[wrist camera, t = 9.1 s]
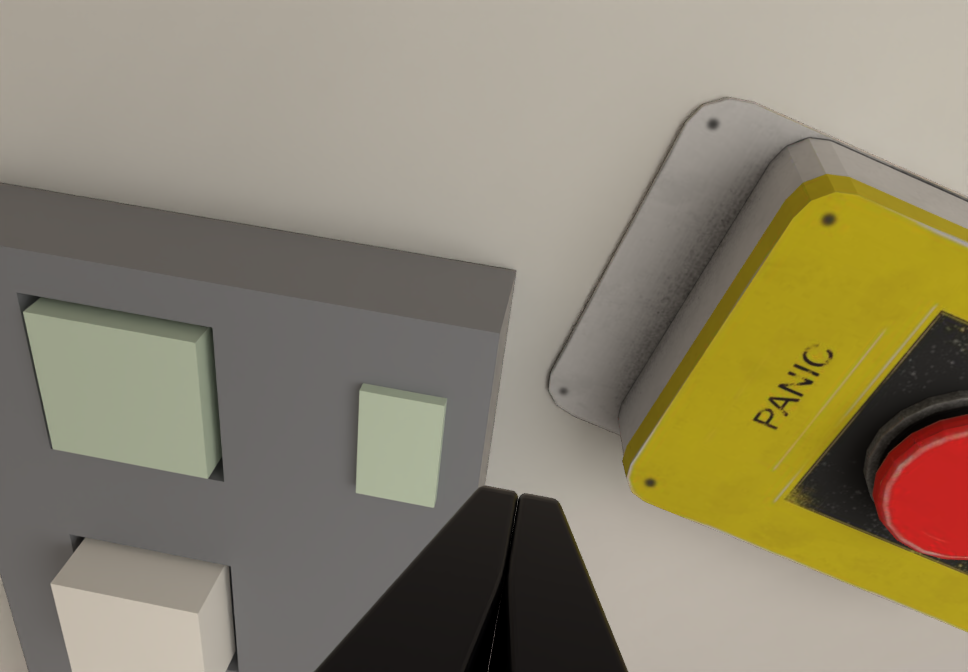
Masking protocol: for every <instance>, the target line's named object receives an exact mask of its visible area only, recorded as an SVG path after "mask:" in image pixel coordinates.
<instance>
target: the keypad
mask: <svg viewBox="0 0 968 672" xmlns="http://www.w3.org/2000/svg"><path fill="white" fill-rule="evenodd" d="M515 277H516V270H510V269H504V268H498V267H492V266H486V265H480V264H474V263H469V262H463V261H457V260H451V259H445V258H439V257H433V256H427V255H422V254H416V253H410V252H404V251H398V250H392V249H386V248H380V247H374V246H369V245H363V244H357V243H351V242H345V241H339V240H333V239H327V238H322V237H316V236H310V235H304V234H298V233H292V232H286V231H280V230H275V229H269V228H263V227H257V226H251V225H245V224H239V223H233V222H227V221H222V220H216V219H210V218H204V217H198V216H192V215H186V214H180V213H175V212H169V211H163V210H157V209H151V208H145V207H139V206H133V205H128V204H122V203H116V202H110V201H104V200H98V199H92V198H86V197H80V196H75V195H69V194H63V193H57V192H51V191H45V190H39V189H33V188H28V187H22V186H16V185H10V184H4V183H0V575H1V578H2V582H3V585H4V588H5V592H6V595H7V599H8V602H9V606H10V609H11V612H12V616H13V619H14V623H15V626H16V630H17V633H18V636H19V640H20V643H21V647H22V650H23V654H24V657H25V660H26V664H27V667H28V671H29V672H72V669H71V665H70V661H69V657H68V653H67V649H66V645H65V641H64V637H63V633H62V629H61V625H60V620H59V616H58V612H57V608H56V604H55V600H54V596H53V592H52V588H51V584H50V583H51V582H52V581H53V579H54V578H55V577H56V576H57V574H58V573H59V572H60V570H61V569H62V568H63V566H64V565H65V564H66V562H67V561H68V560H69V558H70V557H71V556H72V554H73V553H74V552H75V550H76V549H77V548H78V547H79V545H80V544H81V543H82V541H83V540H84V539H85V537H86V538H91V539H96V540H101V541H106V542H111V543H116V544H121V545H126V546H131V547H136V548H141V549H146V550H151V551H156V552H161V553H166V554H171V555H176V556H181V557H186V558H191V559H196V560H201V561H206V562H211V563H216V564H221V565H226V566H229V574H230V587H231V600H232V612H233V625H234V638H235V653H234V655H233V657H232V659H231V661H230V663H229V666H228V668H227V670H226V672H314V671H315V670H316V669H317V667H318V666H319V665H320V664H321V663H322V662H323V661H324V660H325V659H326V657H327V656H328V655H329V654H330V653H331V652H332V651H333V650H334V648H335V647H336V646H337V645H338V644H339V643H340V642H341V641H342V639H343V638H344V637H345V636H346V635H347V634H348V633H349V632H350V631H351V629H352V628H353V627H354V626H355V625H356V624H357V623H358V622H359V620H360V619H361V618H362V617H363V616H364V615H365V614H366V613H367V611H368V610H369V609H370V608H371V607H372V606H373V605H374V604H375V603H376V601H377V600H378V599H379V598H380V597H381V596H382V595H383V594H384V592H385V591H386V590H387V589H388V588H389V587H390V586H391V585H392V583H393V582H394V581H395V580H396V579H397V578H398V577H399V576H400V574H401V573H402V572H403V571H404V570H405V569H406V568H407V567H408V566H409V564H410V563H411V562H412V561H413V560H414V559H415V558H416V557H417V555H418V554H419V553H420V552H421V551H422V550H423V549H424V548H425V546H426V545H427V544H428V543H429V542H430V541H431V540H432V539H433V538H434V536H435V535H436V534H437V533H438V532H439V531H440V530H441V529H442V527H443V526H444V525H445V524H446V523H447V522H448V521H449V520H450V518H451V517H452V516H453V515H454V514H455V513H456V512H457V511H458V510H459V508H460V507H461V506H462V505H463V504H464V503H465V502H466V501H467V499H468V498H469V497H470V496H471V495H472V494H473V493H474V492H475V491H476V490H477V489H478V488H479V487H481V486H485V481H486V474H487V467H488V460H489V453H490V447H491V440H492V433H493V426H494V419H495V413H496V406H497V399H498V392H499V385H500V379H501V372H502V365H503V358H504V352H505V345H506V338H507V331H508V324H509V318H510V311H511V304H512V297H513V290H514V284H515ZM41 297H44V298H50V299H56V300H61V301H67V302H72V303H78V304H83V305H89V306H95V307H100V308H106V309H111V310H117V311H122V312H128V313H134V314H139V315H145V316H150V317H156V318H161V319H167V320H173V321H178V322H184V323H189V324H195V325H200V326H206V327H212V328H213V341H214V354H215V367H216V380H217V393H218V406H219V419H220V433H221V446H222V457H221V459H220V461H219V462H218V464H217V465H216V467H215V468H214V470H213V471H212V473H211V475H210V476H209V478H208V479H206V478H200V477H195V476H190V475H185V474H180V473H174V472H169V471H164V470H159V469H154V468H148V467H143V466H138V465H133V464H128V463H123V462H117V461H112V460H107V459H102V458H97V457H91V456H86V455H81V454H76V453H71V452H65V451H60V450H55V449H53V447H52V443H51V438H50V434H49V429H48V424H47V420H46V415H45V411H44V406H43V401H42V397H41V392H40V388H39V383H38V378H37V374H36V369H35V365H34V360H33V355H32V351H31V346H30V342H29V337H28V332H27V328H26V323H25V319H24V314H23V311H25V310H26V309H27V308H28V307H29V306H31V305H32V304H33V303H34V302H36V301H37V300H38V299H39V298H41Z"/></svg>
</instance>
